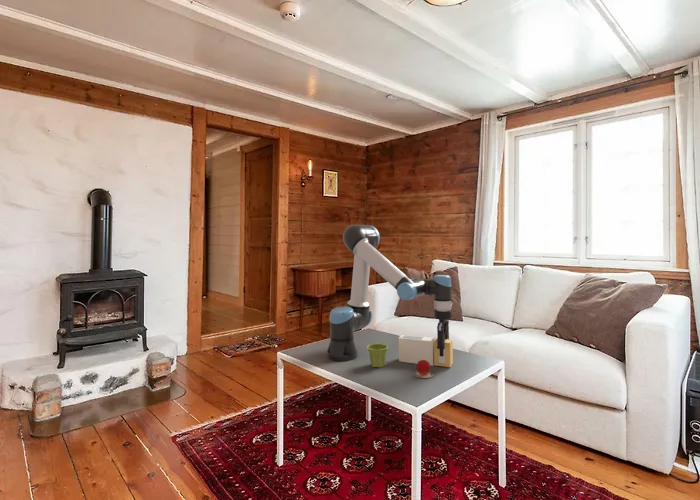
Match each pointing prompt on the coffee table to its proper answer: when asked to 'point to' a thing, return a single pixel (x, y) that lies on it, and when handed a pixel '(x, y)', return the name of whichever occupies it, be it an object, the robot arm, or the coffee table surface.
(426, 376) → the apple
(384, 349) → the plant pot
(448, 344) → the stub
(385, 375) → the coffee table surface
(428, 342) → the white box
